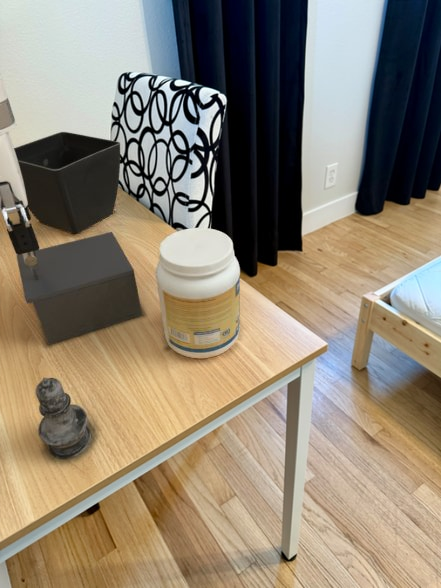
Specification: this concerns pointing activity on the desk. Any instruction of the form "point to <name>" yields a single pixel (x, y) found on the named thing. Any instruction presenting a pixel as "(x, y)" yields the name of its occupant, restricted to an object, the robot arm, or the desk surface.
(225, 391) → the desk surface
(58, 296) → the chest
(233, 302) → the supplement tub
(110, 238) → the lid
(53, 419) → the chess piece
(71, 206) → the flower pot
